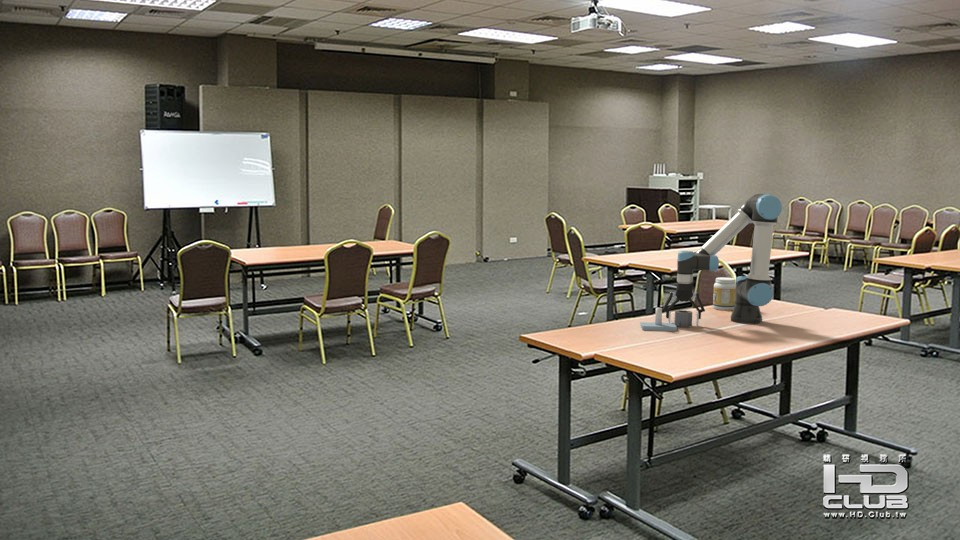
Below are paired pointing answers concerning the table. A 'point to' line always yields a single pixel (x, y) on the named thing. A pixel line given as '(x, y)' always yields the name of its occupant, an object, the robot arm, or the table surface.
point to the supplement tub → (724, 293)
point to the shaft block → (658, 323)
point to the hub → (683, 318)
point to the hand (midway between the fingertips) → (683, 325)
